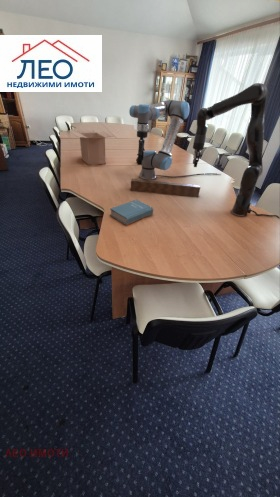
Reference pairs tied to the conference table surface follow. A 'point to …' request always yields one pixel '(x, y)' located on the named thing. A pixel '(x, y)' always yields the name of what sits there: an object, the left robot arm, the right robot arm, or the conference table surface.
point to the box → (92, 146)
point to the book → (131, 211)
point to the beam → (165, 187)
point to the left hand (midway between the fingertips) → (140, 162)
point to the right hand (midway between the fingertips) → (194, 165)
